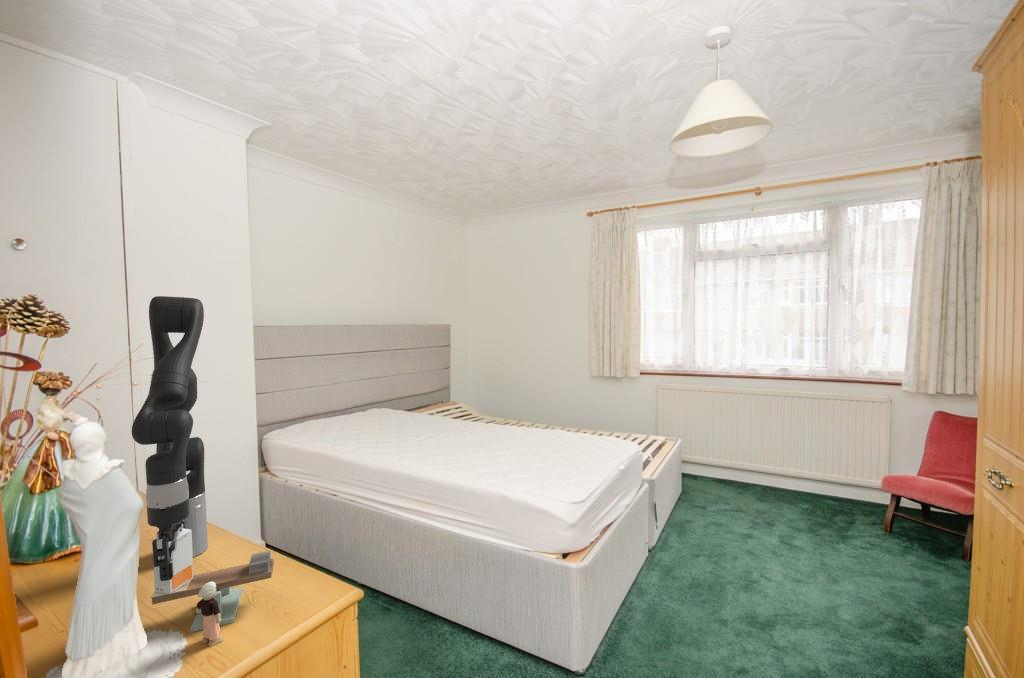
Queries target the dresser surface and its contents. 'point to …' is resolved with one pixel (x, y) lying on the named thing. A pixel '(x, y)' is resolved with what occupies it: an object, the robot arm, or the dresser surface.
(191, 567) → the skincare box
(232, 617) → the beam stand
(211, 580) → the beam
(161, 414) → the robot arm
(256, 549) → the dresser surface
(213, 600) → the grandmother figurine
